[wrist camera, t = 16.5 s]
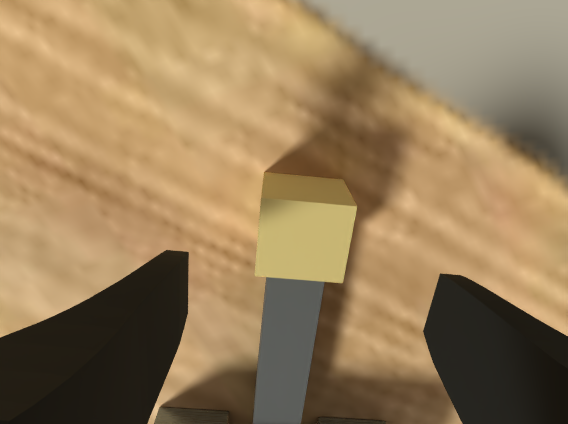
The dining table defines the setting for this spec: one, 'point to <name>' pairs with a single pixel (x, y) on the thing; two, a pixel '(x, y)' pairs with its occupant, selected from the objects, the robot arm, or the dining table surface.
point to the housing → (193, 420)
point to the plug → (296, 282)
